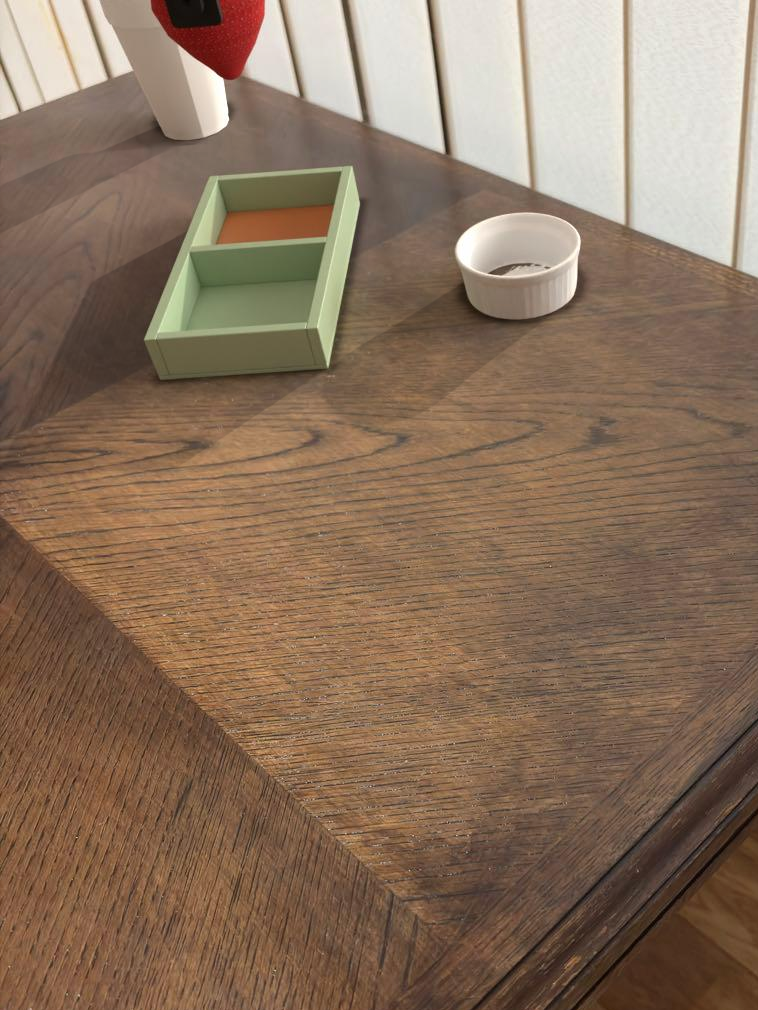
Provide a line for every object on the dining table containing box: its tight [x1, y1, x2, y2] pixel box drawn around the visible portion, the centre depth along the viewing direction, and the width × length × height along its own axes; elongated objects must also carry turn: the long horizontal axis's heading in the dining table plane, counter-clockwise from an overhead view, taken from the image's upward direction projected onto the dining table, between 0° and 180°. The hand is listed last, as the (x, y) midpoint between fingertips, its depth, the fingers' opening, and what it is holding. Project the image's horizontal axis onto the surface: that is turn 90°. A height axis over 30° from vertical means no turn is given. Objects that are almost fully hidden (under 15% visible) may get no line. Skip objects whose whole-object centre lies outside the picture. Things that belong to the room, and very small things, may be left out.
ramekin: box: [454, 212, 581, 320], centre depth 76 cm, size 9×9×4 cm
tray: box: [143, 165, 361, 381], centre depth 79 cm, size 12×22×4 cm, turn 1°
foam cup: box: [99, 0, 230, 141], centre depth 97 cm, size 10×9×13 cm
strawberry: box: [151, 0, 266, 81], centre depth 70 cm, size 6×8×10 cm
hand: (209, 1), depth 70 cm, fingers closed on strawberry, 6 cm apart
